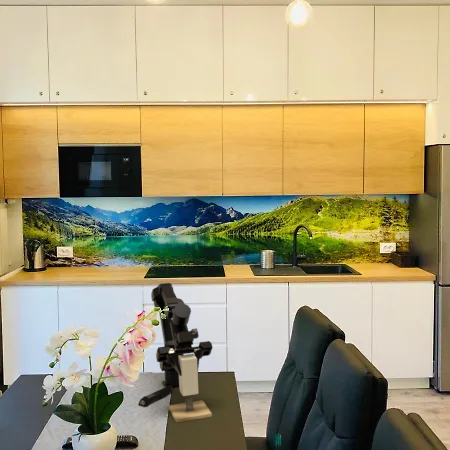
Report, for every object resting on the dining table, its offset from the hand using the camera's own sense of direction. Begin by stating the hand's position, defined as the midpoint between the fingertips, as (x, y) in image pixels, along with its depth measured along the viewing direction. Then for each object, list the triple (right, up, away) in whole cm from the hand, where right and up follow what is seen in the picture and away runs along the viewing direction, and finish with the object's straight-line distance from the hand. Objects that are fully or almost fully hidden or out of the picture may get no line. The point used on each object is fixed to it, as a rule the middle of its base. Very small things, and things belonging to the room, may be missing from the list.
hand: (189, 374), depth 180 cm
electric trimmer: (-13, -14, +15) cm, 24 cm away
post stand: (0, -13, +2) cm, 14 cm away
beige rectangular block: (0, -7, +2) cm, 7 cm away
